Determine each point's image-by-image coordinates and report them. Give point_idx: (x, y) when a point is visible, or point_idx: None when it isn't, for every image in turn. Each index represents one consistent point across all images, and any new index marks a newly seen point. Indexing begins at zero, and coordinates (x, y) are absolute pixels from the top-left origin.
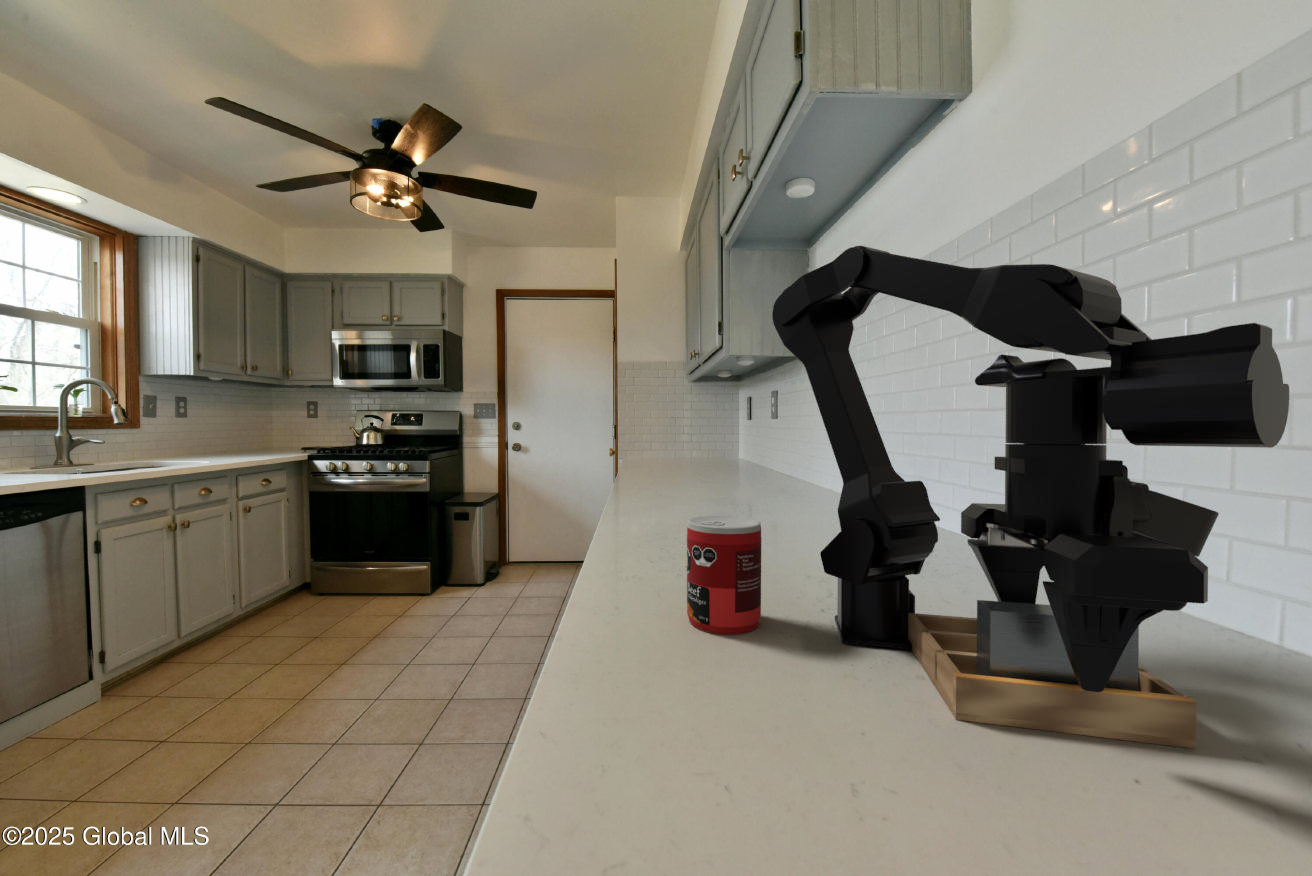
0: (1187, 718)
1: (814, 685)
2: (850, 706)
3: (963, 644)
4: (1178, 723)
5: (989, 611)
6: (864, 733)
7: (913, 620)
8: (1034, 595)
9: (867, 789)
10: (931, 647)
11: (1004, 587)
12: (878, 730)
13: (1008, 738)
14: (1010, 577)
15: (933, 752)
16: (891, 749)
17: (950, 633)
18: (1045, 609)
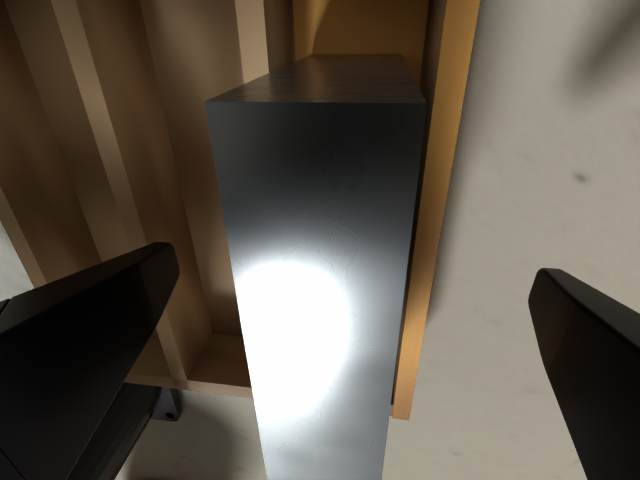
0: None
1: None
2: (389, 448)
3: (182, 313)
4: None
5: None
6: (456, 452)
7: (124, 381)
8: (67, 306)
9: (571, 477)
10: None
11: (88, 407)
12: (447, 439)
13: (452, 308)
14: (40, 431)
15: (497, 405)
16: (491, 440)
17: (170, 346)
18: (320, 404)
